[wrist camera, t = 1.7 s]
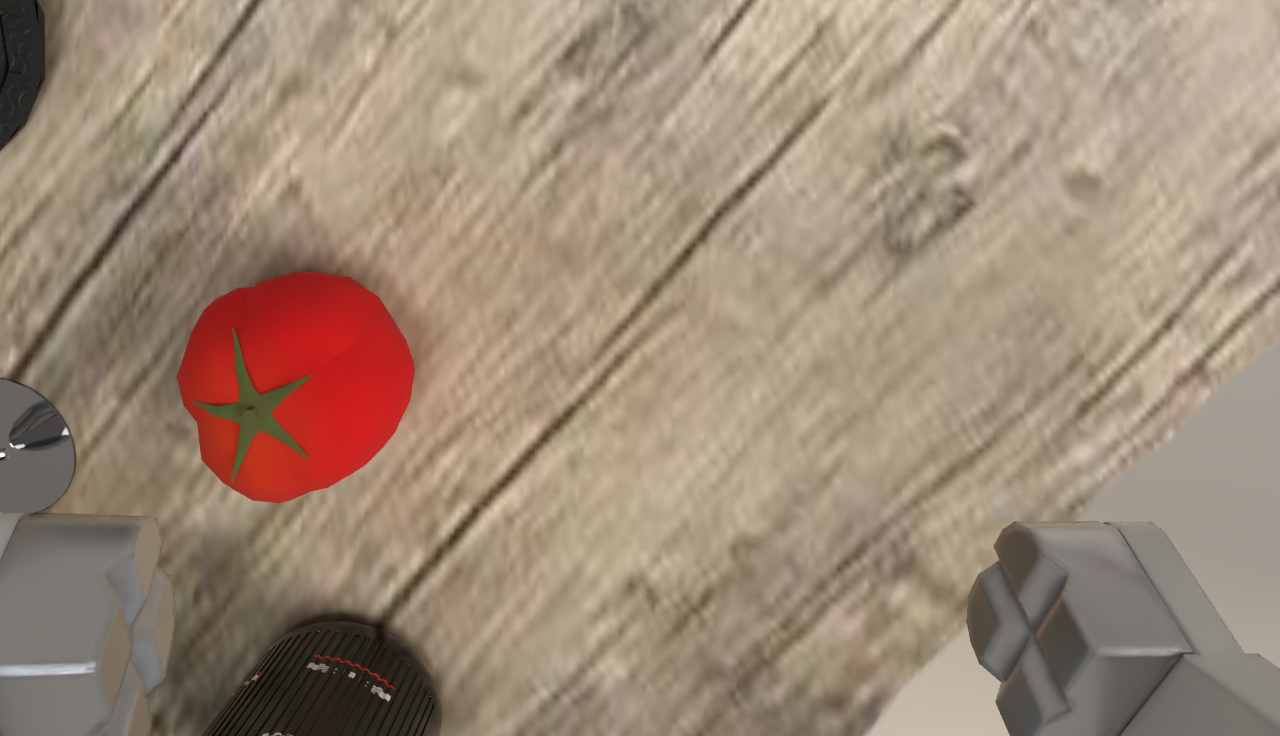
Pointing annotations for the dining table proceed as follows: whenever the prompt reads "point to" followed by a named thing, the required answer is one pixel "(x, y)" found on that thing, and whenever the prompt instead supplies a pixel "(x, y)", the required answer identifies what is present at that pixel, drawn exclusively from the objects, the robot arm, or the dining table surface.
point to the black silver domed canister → (333, 687)
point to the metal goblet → (32, 451)
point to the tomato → (294, 383)
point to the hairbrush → (19, 63)
